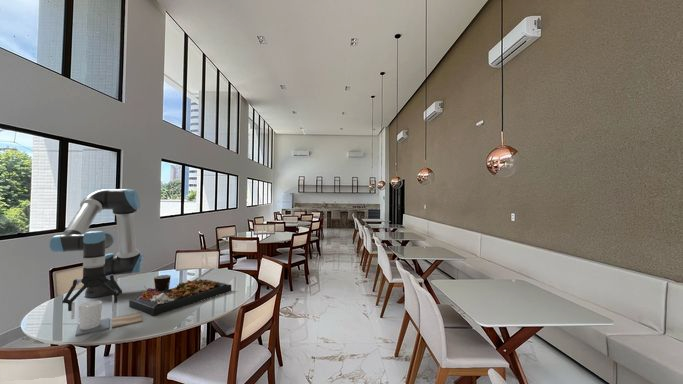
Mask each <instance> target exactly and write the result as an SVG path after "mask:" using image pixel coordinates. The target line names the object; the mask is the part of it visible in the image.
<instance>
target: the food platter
mask: <svg viewBox="0 0 683 384" xmlns="http://www.w3.org/2000/svg"><path fill="white" fill-rule="evenodd" d="M143 287H144V288H145V291H143V292H142V294H141V295H140V296H139V295H138V296H135V297H134V298H131V299H129V301H128V308H131V309H134V310H136V311H139V312H140V313H144V314H147V315H148V316H151V317H156V316H159V315H163V314H165V313H168V312H172V311H174V310H178V309H181V308H183V307H187V306H190V305H192V304H196V303H199V302H201V300H202V301H205V300H208V299H211V298H214V297H217V296H220V295H219V294H221V295H223V293H224V294H226V292H227V293H229V291H230V292H231V291H232V284H230V283H225V282H221V281H216V280H211V279H201V278H199V279H198V280H197V279H194V280H187V281H185V282H179V283H177V285H176V286H175V287H173V288H169V289H168V290H164V291H157V290H158V289H157V290H156V288H155V287H154V288H146V286H145V285H143ZM216 295H217V296H216ZM213 296H214V297H213ZM210 297H211V298H210ZM207 298H208V299H207ZM204 299H205V300H204Z"/></svg>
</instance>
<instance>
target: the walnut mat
mask: <svg viewBox="0 0 683 384" xmlns="http://www.w3.org/2000/svg"><path fill="white" fill-rule="evenodd" d="M142 322H143V318H142V314H141V311H139V312H134V313H133V312H132V313H127V314H124V315H118V316H114V317H111V329H114V328H120V327H125V326H128V325H129V326H130V325H133V324H139V323H142Z"/></svg>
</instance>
